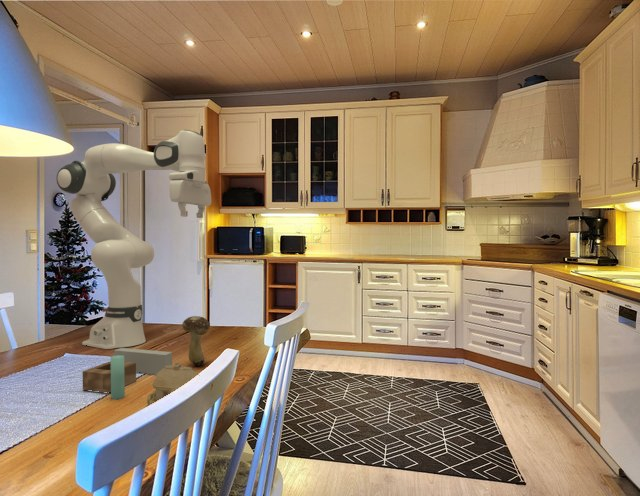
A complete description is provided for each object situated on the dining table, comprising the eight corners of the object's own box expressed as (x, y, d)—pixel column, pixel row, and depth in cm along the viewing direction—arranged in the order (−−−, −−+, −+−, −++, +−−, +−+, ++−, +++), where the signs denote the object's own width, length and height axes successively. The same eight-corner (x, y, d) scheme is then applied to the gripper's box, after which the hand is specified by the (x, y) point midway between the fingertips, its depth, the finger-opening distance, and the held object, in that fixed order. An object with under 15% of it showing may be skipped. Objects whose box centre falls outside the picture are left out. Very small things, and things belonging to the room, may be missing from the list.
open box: (82, 390, 107) (82, 371, 107) (112, 378, 117) (112, 360, 116) (107, 393, 105) (107, 374, 105) (136, 380, 114) (135, 362, 114)
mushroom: (188, 361, 133) (187, 314, 133) (215, 361, 133) (214, 314, 132) (177, 370, 124) (176, 320, 123) (206, 370, 123) (205, 320, 123)
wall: (114, 370, 124) (114, 350, 124) (121, 367, 127) (121, 347, 126) (165, 375, 119) (165, 354, 118) (172, 372, 121) (172, 352, 121)
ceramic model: (215, 399, 101) (215, 358, 101) (190, 418, 90) (190, 372, 90) (165, 394, 105) (164, 355, 104) (135, 412, 94) (134, 368, 94)
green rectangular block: (108, 398, 102) (107, 358, 101) (117, 394, 104) (117, 354, 104) (118, 400, 101) (117, 359, 100) (127, 395, 104) (126, 355, 103)
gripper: (200, 181, 156) (200, 218, 156) (165, 173, 136) (166, 215, 136) (215, 181, 154) (215, 218, 154) (182, 172, 134) (182, 215, 135)
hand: (192, 217), depth 145 cm, fingers open, 8 cm apart
